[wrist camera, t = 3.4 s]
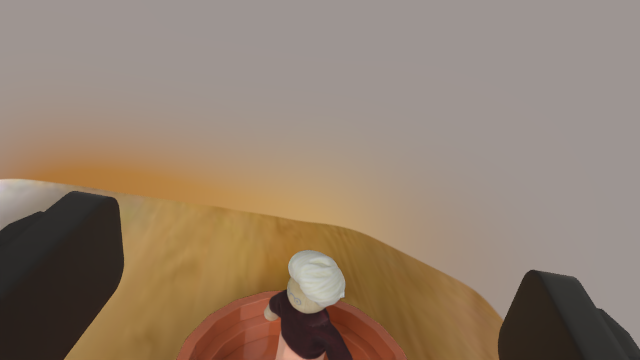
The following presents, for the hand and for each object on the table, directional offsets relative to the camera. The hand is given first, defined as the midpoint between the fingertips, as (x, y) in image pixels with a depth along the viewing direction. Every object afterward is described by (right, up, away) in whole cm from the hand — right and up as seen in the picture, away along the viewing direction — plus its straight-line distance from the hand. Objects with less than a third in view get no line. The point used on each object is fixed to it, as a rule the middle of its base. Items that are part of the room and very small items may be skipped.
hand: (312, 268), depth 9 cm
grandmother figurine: (-2, -14, +21) cm, 25 cm away
